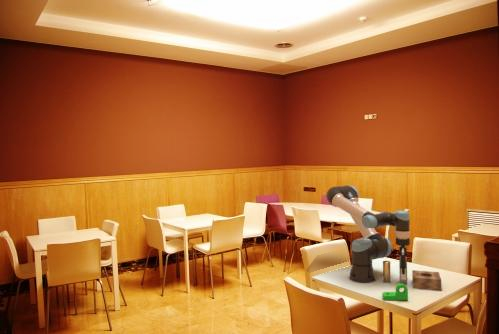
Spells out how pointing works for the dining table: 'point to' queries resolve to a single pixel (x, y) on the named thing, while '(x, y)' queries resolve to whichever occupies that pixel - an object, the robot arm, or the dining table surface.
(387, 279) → the round bit
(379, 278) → the dining table surface
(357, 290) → the dining table surface
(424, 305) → the dining table surface
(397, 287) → the mechanical part
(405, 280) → the square bit
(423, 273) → the bore block
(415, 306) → the dining table surface
